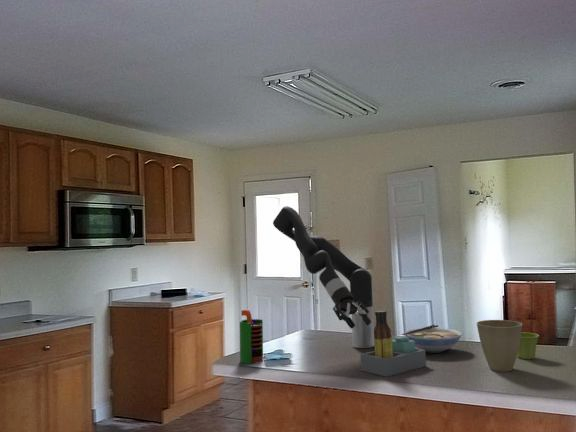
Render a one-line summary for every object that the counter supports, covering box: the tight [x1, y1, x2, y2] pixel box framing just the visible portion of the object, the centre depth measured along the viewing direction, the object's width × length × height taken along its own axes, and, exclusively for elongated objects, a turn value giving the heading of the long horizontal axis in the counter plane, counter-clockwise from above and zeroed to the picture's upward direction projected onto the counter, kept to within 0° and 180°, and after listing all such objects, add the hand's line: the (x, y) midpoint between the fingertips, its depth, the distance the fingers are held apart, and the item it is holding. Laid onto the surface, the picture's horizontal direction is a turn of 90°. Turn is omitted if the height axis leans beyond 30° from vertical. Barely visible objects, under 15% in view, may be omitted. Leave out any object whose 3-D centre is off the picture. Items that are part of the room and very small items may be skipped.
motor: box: [239, 309, 264, 365], centre depth 217 cm, size 10×9×20 cm
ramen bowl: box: [400, 324, 463, 354], centre depth 224 cm, size 25×23×8 cm
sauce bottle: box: [374, 309, 393, 358], centre depth 195 cm, size 7×6×20 cm
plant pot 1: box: [476, 319, 523, 373], centre depth 192 cm, size 15×15×16 cm
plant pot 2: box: [516, 331, 540, 360], centre depth 207 cm, size 9×9×9 cm
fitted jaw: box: [392, 335, 416, 354], centre depth 201 cm, size 6×7×9 cm
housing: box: [359, 347, 427, 377], centre depth 198 cm, size 21×12×6 cm, turn 127°
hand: (361, 325), depth 204 cm, fingers open, 8 cm apart
